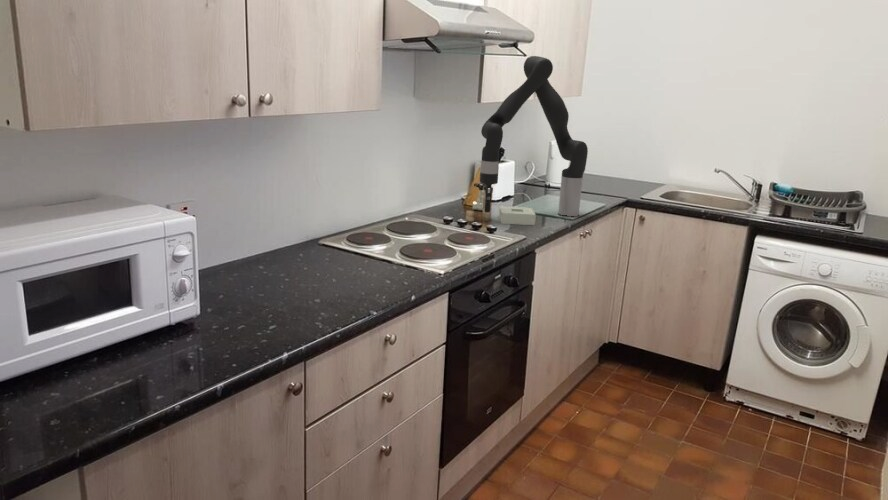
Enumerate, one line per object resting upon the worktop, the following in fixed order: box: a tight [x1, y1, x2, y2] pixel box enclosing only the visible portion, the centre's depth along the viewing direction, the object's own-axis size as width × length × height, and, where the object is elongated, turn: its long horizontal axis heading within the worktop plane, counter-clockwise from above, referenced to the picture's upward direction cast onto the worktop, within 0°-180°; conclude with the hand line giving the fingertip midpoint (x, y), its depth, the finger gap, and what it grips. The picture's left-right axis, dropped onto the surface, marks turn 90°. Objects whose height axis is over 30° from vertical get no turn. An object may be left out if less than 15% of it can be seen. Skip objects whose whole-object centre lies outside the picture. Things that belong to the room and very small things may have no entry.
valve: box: [472, 182, 485, 212], centre depth 292 cm, size 7×7×12 cm
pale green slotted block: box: [498, 205, 537, 226], centre depth 275 cm, size 14×14×4 cm
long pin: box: [481, 196, 493, 222], centre depth 273 cm, size 4×4×10 cm
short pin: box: [465, 209, 475, 223], centre depth 272 cm, size 4×4×4 cm
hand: (486, 210), depth 273 cm, fingers open, 8 cm apart
